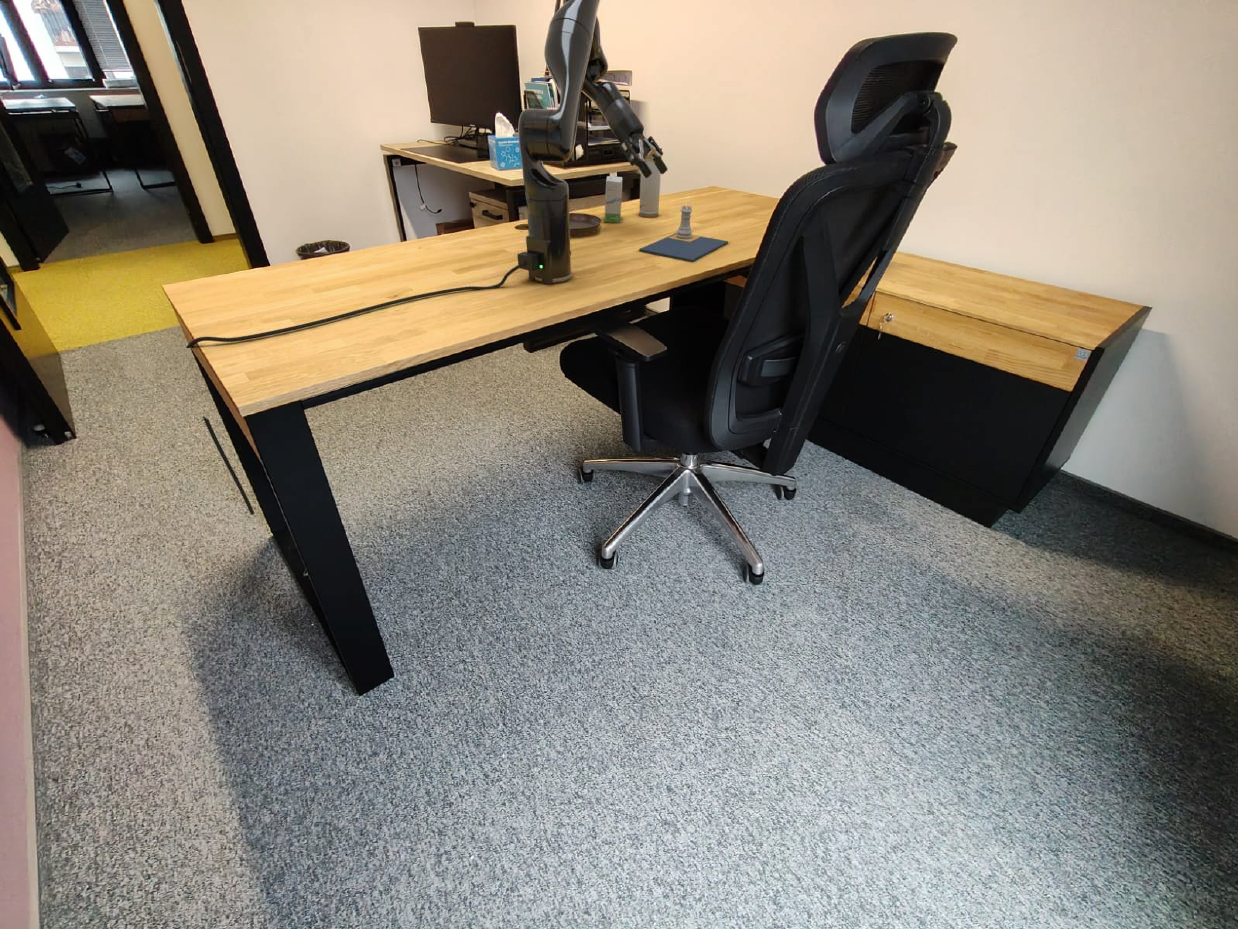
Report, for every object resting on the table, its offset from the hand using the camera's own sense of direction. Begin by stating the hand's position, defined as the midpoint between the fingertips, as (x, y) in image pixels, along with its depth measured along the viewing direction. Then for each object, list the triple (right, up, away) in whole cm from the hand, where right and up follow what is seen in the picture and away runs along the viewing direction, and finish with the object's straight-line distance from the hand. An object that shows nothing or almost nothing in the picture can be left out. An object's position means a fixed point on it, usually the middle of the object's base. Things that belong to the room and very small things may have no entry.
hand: (657, 173), depth 154 cm
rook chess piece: (+8, -16, +5) cm, 18 cm away
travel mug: (-1, +1, +29) cm, 29 cm away
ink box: (-12, -3, +23) cm, 27 cm away
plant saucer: (-25, -11, +11) cm, 29 cm away
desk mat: (+8, -20, -1) cm, 22 cm away
